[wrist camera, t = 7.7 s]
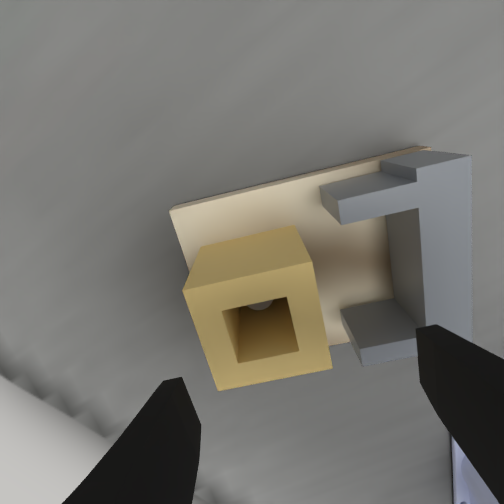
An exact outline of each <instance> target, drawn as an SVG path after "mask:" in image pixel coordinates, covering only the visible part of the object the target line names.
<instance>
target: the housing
mask: <svg viewBox="0 0 504 504" xmlns="http://www.w3.org/2000/svg"><path fill="white" fill-rule="evenodd" d="M380 161H381V171H380V172H376V173H372V174H367V175H363V176H359V177H355V178H351V179H347V180H342V181H338V182H334V183H330V184H326V185H322V186H319V188H320V194H321V200H322V206H323V207H324V208H325V209H326V210H327V211H328V212H329V213H330V214H331V215H332V216H333V217H334V218H335V219H336V220H337V221H338V222H339V223H340V224H341V225H345V224H349V223H354V222H358V221H362V220H367V219H371V218H375V217H380V216H384V215H386V222H387V232H388V242H389V252H390V262H391V272H392V282H393V292H394V298H392V299H387V300H383V301H378V302H373V303H368V304H364V305H359V306H354V307H349V308H345V309H340V314H341V319H342V325H343V327H344V329H345V331H346V333H347V335H348V337H349V339H350V341H351V344H352V346H353V348H354V350H355V352H356V354H357V356H358V358H359V360H360V362H361V364H362V366H368V365H373V364H378V363H383V362H388V361H393V360H398V359H403V358H409V357H414V356H418V353H417V341H416V330H415V328H420V327H425V326H430V325H435V324H437V325H439V326H441V327H443V328H445V329H447V330H449V331H451V332H453V333H455V334H457V335H458V336H460V337H462V338H464V339H466V340H468V341H470V342H471V343H473V339H472V155H464V154H455V153H446V152H437V151H428V150H422V151H417V152H413V153H409V154H405V155H401V156H397V157H393V158H389V159H385V160H380Z"/></svg>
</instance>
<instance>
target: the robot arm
mask: <svg viewBox="0 0 504 504" xmlns="http://www.w3.org/2000/svg"><path fill="white" fill-rule="evenodd" d="M415 330H416V341H417V353H418V365H419V376H420V383H421V385H422V387H423V389H424V391H425V393H426V395H427V397H428V399H429V400H430V402H431V404H432V406H433V408H434V409H435V411H436V413H437V415H438V416H439V418H440V419H441V421H442V422H443V424H444V425H445V427H446V428H447V430H448V431H449V432H450V434H451V435H452V460H453V489H454V504H504V359H502V358H500V357H498V356H496V355H494V354H492V353H490V352H488V351H487V350H485V349H483V348H481V347H479V346H477V345H475V344H473V343H471V342H470V341H468V340H466V339H464V338H462V337H460V336H458V335H457V334H455V333H453V332H451V331H449V330H447V329H445V328H443V327H441V326H439V325H437V324H435V325H430V326H425V327H420V328H415ZM200 441H201V423H200V421H199V418H198V416H197V413H196V411H195V408H194V406H193V403H192V401H191V399H190V396H189V394H188V391H187V389H186V386H185V384H184V381H183V379H182V377H179V378H174V379H170V380H165V381H163V382H162V383H161V384H160V385H159V387H158V388H157V389H156V391H155V392H154V393H153V394H152V396H151V397H150V398H149V400H148V401H147V402H146V404H145V405H144V406H143V408H142V409H141V410H140V412H139V413H138V414H137V415H136V417H135V418H134V419H133V421H132V422H131V423H130V424H129V426H128V427H127V428H126V430H125V431H124V432H123V433H122V435H121V436H120V437H119V439H118V440H117V441H116V442H115V444H114V445H113V446H112V447H111V448H110V449H109V451H108V452H107V453H106V454H105V455H104V457H103V458H102V459H101V460H100V461H99V463H98V464H97V465H96V466H95V468H94V469H93V470H92V471H91V472H90V473H89V475H88V476H87V477H86V478H85V479H84V480H83V481H82V482H81V484H80V485H79V486H78V487H77V488H76V489H75V490H74V491H73V492H72V494H71V495H70V496H69V497H68V498H67V499H66V500H65V501H64V502H63V503H62V504H192V500H193V494H194V488H195V482H196V477H197V471H198V465H199V456H200Z"/></svg>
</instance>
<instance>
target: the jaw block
mask: <svg viewBox="0 0 504 504" xmlns="http://www.w3.org/2000/svg"><path fill="white" fill-rule="evenodd" d="M182 291H183V294H184V297H185V300H186V302H187V305H188V308H189V311H190V314H191V317H192V319H193V322H194V325H195V328H196V331H197V333H198V336H199V339H200V342H201V345H202V347H203V350H204V353H205V356H206V359H207V361H208V364H209V367H210V370H211V373H212V375H213V378H214V381H215V384H216V387H217V390H218V391H222V390H227V389H232V388H237V387H242V386H247V385H252V384H257V383H262V382H267V381H272V380H277V379H282V378H287V377H292V376H297V375H303V374H308V373H313V372H318V371H323V370H328V369H333V367H332V362H331V357H330V351H329V346H328V341H327V336H326V331H325V325H324V320H323V315H322V310H321V305H320V299H319V294H318V289H317V284H316V279H315V273H314V268H313V263H312V260H311V258H310V256H309V254H308V252H307V250H306V248H305V245H304V243H303V241H302V239H301V237H300V235H299V233H298V231H297V229H296V227H295V225H291V226H287V227H282V228H278V229H274V230H270V231H265V232H261V233H257V234H253V235H248V236H244V237H240V238H236V239H231V240H227V241H223V242H219V243H214V244H210V245H206V246H201V247H200V250H199V252H198V254H197V257H196V259H195V262H194V264H193V266H192V269H191V271H190V273H189V276H188V278H187V281H186V283H185V285H184V288H183V290H182ZM269 300H273V301H272V303H271V305H270V306H269V307H267V308H266V309H263V310H254V309H251V308H249V307H248V306H247V305H250V304H255V303H259V302H264V301H269Z"/></svg>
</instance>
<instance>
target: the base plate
mask: <svg viewBox="0 0 504 504" xmlns="http://www.w3.org/2000/svg"><path fill="white" fill-rule="evenodd" d="M422 150H428V151H431V147H424V146H417V147H412V148H408V149H404V150H400V151H396V152H392V153H388V154H384V155H380V156H376V157H372V158H367V159H363V160H359V161H355V162H351V163H347V164H343V165H339V166H335V167H331V168H327V169H322V170H318V171H314V172H310V173H306V174H302V175H298V176H294V177H290V178H286V179H282V180H278V181H273V182H269V183H265V184H261V185H257V186H253V187H249V188H245V189H241V190H237V191H233V192H228V193H224V194H220V195H216V196H212V197H208V198H204V199H200V200H196V201H192V202H188V203H184V204H179V205H175V206H173V207H172V208H171V209H170V210H169V212H170V215H171V218H172V221H173V224H174V227H175V230H176V233H177V236H178V239H179V242H180V245H181V248H182V251H183V254H184V257H185V260H186V263H187V266H188V269H189V272H190V271H191V269H192V266H193V264H194V262H195V259H196V257H197V254H198V252H199V250H200V247H201V246H206V245H210V244H214V243H219V242H223V241H227V240H231V239H236V238H240V237H244V236H248V235H253V234H257V233H261V232H265V231H270V230H274V229H278V228H282V227H287V226H291V225H295V227H296V229H297V231H298V233H299V235H300V237H301V239H302V241H303V243H304V245H305V248H306V250H307V252H308V254H309V256H310V258H311V260H312V263H313V268H314V273H315V279H316V284H317V289H318V294H319V299H320V305H321V310H322V315H323V320H324V325H325V331H326V336H327V341H328V346H332V345H337V344H341V343H346V342H351V341H350V339H349V337H348V335H347V333H346V331H345V329H344V327H343V325H342V319H341V314H340V309H345V308H349V307H354V306H359V305H364V304H368V303H373V302H378V301H383V300H387V299H392V298H394V292H393V282H392V272H391V262H390V252H389V242H388V232H387V222H386V215H384V216H380V217H375V218H371V219H367V220H362V221H358V222H354V223H349V224H345V225H341V224H340V223H339V222H338V221H337V220H336V219H335V218H334V217H333V216H332V215H331V214H330V213H329V212H328V211H327V210H326V209H325V208H324V207H323V206H322V200H321V194H320V188H319V186H322V185H326V184H330V183H334V182H338V181H342V180H347V179H351V178H355V177H359V176H363V175H367V174H372V173H376V172H380V171H381V161H380V160H385V159H389V158H393V157H397V156H401V155H405V154H409V153H413V152H417V151H422ZM272 301H273V300H269V301H264V302H259V303H255V304H250V305H247V306H248V307H249V308H251V309H254V310H263V309H266V308H267V307H269V306H270V305H271V303H272Z"/></svg>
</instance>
